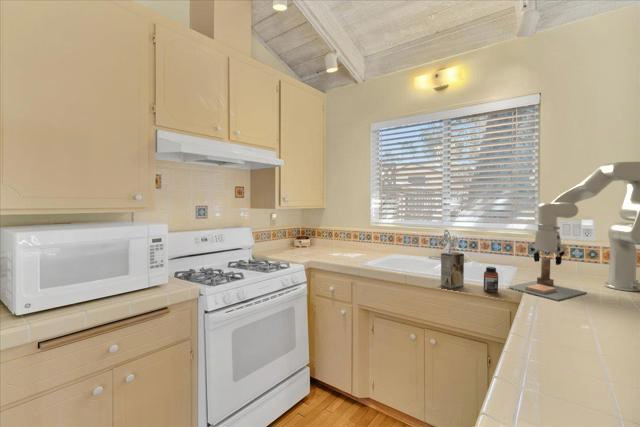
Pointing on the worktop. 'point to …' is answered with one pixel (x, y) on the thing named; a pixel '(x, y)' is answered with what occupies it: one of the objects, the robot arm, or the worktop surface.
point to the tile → (540, 288)
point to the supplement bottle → (491, 280)
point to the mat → (557, 296)
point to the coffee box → (452, 269)
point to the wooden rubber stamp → (545, 273)
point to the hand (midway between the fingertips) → (547, 262)
